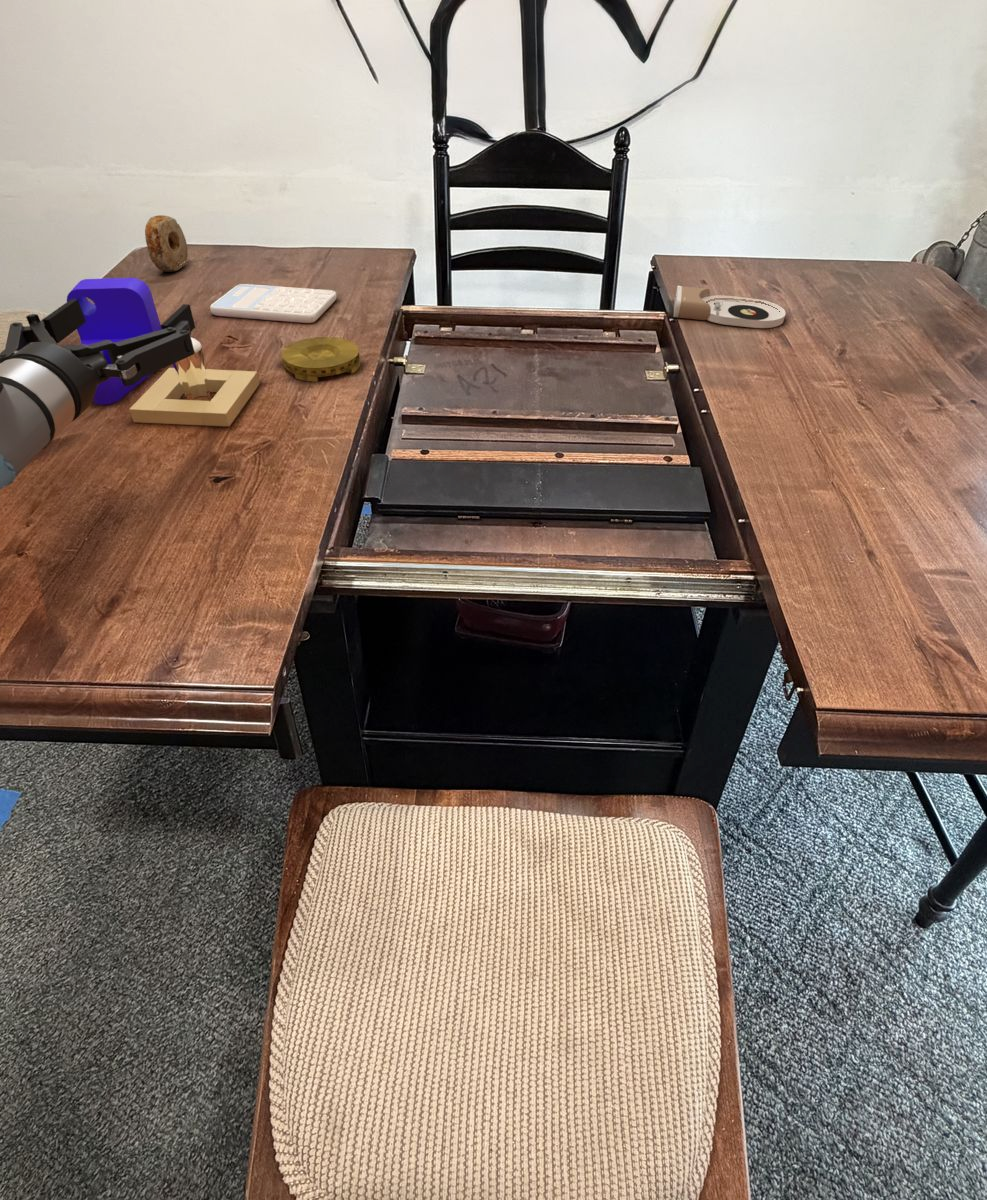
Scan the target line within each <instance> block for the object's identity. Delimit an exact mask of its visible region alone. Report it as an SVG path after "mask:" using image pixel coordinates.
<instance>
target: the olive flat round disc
mask: <svg viewBox="0 0 987 1200" xmlns="http://www.w3.org/2000/svg"><path fill="white" fill-rule="evenodd" d="M281 359H282V364H283V367H284V369H285V370H286V371H288V372H290V373H293V374H294V378H295V379H296V380H300V381H304V382H319V378H321V377H330V376H331V377H332V376H335V375H340V374H343V373H349V374H354V373H356V372H357V371H358V370H359V369H360V367H361V356H360V349H359V346H358V345H357V344H356V343H355V342H354V341H351V340H349V339H345V338H341V337H334V336H317V337H310V338H309V337H308V338H304V339H301V340H297V341H294V342H292V343H290V344H288V345H287V346H285V348H283V350H282V352H281Z"/></svg>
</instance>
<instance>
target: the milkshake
mask: <svg viewBox="0 0 987 1200" xmlns="http://www.w3.org/2000/svg"><path fill="white" fill-rule="evenodd" d="M191 340H192V344H193V348H194V352H195V354H193V355H191V356H189V357H187V358H185V359H182V360H180V361H178V362H176V363H173V364H172V366H173V368H174V369H175V371H176V374H177V376H178V379H179V382H180V384H181V387H182V390H183V392H184V394H183V395H184V397H185V400H199V401H211V400H212V398H211V392H209V386H208V381H207V376H206V370H205V369H206V366H205V359H204V353H203V346H202V343H201V342H200V341H199V340H197V339H196V338H194V337H191Z"/></svg>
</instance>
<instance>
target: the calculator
mask: <svg viewBox="0 0 987 1200" xmlns="http://www.w3.org/2000/svg"><path fill="white" fill-rule="evenodd" d="M337 297H338V296H337V292H336V291H335V290H331V289H322V288H321V289H318V288H317V289H316V288H306V287H294V286H293V287H292V286H278V285H266V284H264V285H263V284H253V283H239V284H236V285H235V286H233V288H231V289H230V290H228V291H227V292H226V293H224V294H223V295H222V296H220V297H219V298H218V299H216V300H215V301H214V302H212V303H211V304H210V306H209V309H210V313H211V314H212V315H214V316H218V317H226V318H227V317H228V318H239V319H250V320H251V319H252V320H265V321H277V322H286V323H287V322H289V323H300V324H313V323H315V322H316V321H317V320H318V319H319V318H320V317H321V316H322V315H323V314H324V313H325V312H326V311H327V310H328V309H329V308H330V307H331V306H332V305H333V304H334V302H335V301H336V300H337Z"/></svg>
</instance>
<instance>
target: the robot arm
mask: <svg viewBox="0 0 987 1200" xmlns="http://www.w3.org/2000/svg"><path fill="white" fill-rule="evenodd" d="M25 318H26V320H27V323H28V325H26V326H24V325H23V323H22V322H20V321H19V322H18V321H17V322H12V323H11V324H10V325H9V328H8V333H7V338H6V343H5V347H4V349H3V350H2V351H1V352H0V491H2V489H4V488H5V487H8V486H9V485H11V484H13V482H14V481H15V480H16V478H17V477H18V476H19V475H20V474H21V472H23V470H24V469H25V468H26V467H27V466H28V465H29V464H30V463H31V462H32V461H33V460H34V458H35V457H36V456H37V455H39V453H41V451H42V450H44V449H46V448H47V446H49V445H50V444H51V443H52V441H53V440H55V439H56V438H57V437H58V435H60V434H61V433H62V432H63V431H64V430H65V429H66V428H67V427H68V426H69V425H70V424H71V423H73V422H74V421H75V420H77V419H78V418H79V416H81V415H82V414H83V413H84V412H85V411H86V410H87V409H88V408H89V407H91V405H92V403H94V400H93V399H94V396H95V392H96V389H97V386H98V384H100V383H102V382H105V381H107V380H108V379H110V378H111V377H115V378H121V381H122V383H123V385H124V386H131V385H133V384H135V383H136V382H137V381H139V380H140V379H141V378H142V377H144V376H147V375H149V374H151V373H152V374H153V373H156V372H158V371H160V370H163V369H164V368H167V367H170V366H172V365H173V363H176V362H178V361H180V360H182V359H185V358H187V357H189V356H191V355H193V354H195V352H194V348H193V344H192V340H191V338H192V337H191V336H192V332H193V331H194V329H196V324H195V320H194V316H193V312H192V308H191V304H188V303H187V304H186V303H185V304H184V303H183V304H182V305H181V306H180V307H179V308H178V309H176V310H175V311H174V312H173V313H172V314H171V315H170V316H169V317H168V318H167V319H166V320H165V321H163V323H161V328H162V330H158V331H155V332H151V333H148V334H144V335H140V336H137V337H133V338H130V339H126V340H122V341H119V342H115V343H113V342H112V341H110V340H104V341H101V342H97V343H93V344H90V345H84V344H81V343H80V344H66V345H59V343H61V342H62V341H63V340H64V339H66V338H67V337H69V336H70V335H71V334H72V333H74V332H75V331H77V328H79V327H80V326H81V325H83V324H84V323H85V322H86V321H85V318H84V315H83V312H82V310H81V307H80V304H79V301H78V299H71V300H69V301H68V302H67V301H66V302H65V303H64V304H62V305H61V306H59V307H58V308H56V309H55V310H54V311H51V313H50V314H48V315H47V316H45V317H44V318H42V319H40V317H39V314H37V313H31V314H28V315H26V316H25ZM104 350H107V351H108V354H109V357H110V360H111V363H112V364H108V362H107V360H106V358H105V356H104V354H103V352H102V351H104ZM152 374H151V375H152ZM149 376H150V375H149Z"/></svg>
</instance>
